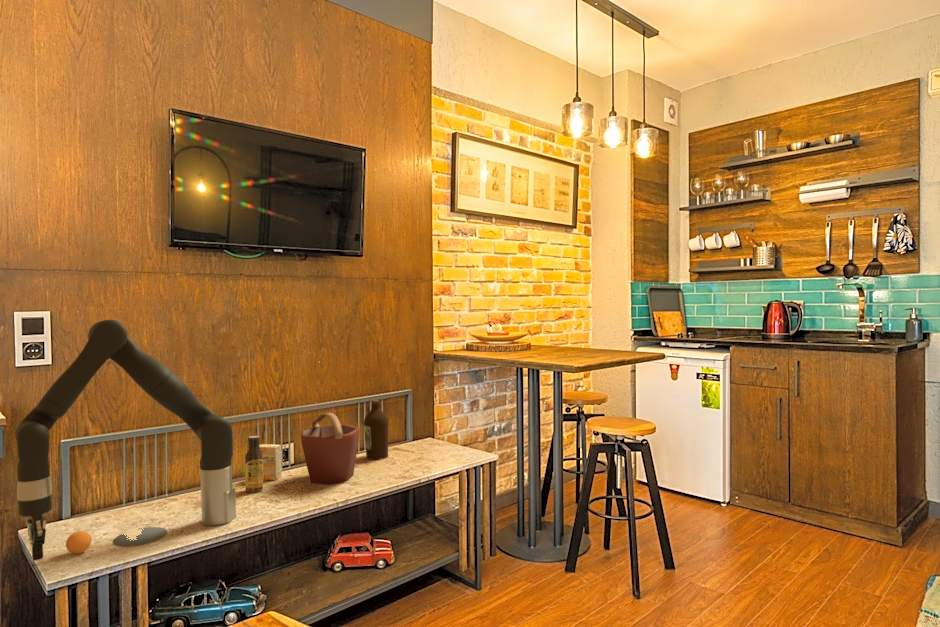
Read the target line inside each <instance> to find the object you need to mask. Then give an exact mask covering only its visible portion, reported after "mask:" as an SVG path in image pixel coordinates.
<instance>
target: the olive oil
mask: <svg viewBox="0 0 940 627" xmlns="http://www.w3.org/2000/svg"><path fill="white" fill-rule="evenodd" d="M363 430H364V442H365V452H366V453H365V455H366V459H368V460H373V461H374V460H382V459H383V460H384V459H386V458H388V457H389V418H388V415H387V414H385V413H384V411H383V410H381V408H380V400H379V399H372V400H371V409H370V411H369V412H368V413H367V414H366V415H365V418H364V420H363Z"/></svg>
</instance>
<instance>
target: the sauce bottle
mask: <svg viewBox="0 0 940 627" xmlns="http://www.w3.org/2000/svg"><path fill="white" fill-rule="evenodd" d="M260 440H261V437H260V435H250V436H248V438H247V441H248V449H247V452H246V454H245V463H244V487H245V492H246V493H258V492H262V490H263V486H264V480H263V455H262V452H261V450H260V446H259V445H260Z"/></svg>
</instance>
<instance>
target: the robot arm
mask: <svg viewBox="0 0 940 627" xmlns="http://www.w3.org/2000/svg"><path fill="white" fill-rule="evenodd" d="M87 338H88V339H87V341H86V343H85V346H84V347H83V349H82V350H81V352H80V354H79V355H78V356H77V357H76V359H75V360H74V361H73V362H72V363H71V364H70V366H68V367H67V368H66V369H65V371H64V372H63V373H62V374H61V375H60V376H59V377H58V378H57V379H56V381H54V382H53V384H51V386H50V387H49V389H48V390H47V391H46V393H45V394H44V395H43V396H42V397H41V399H40V400H39V402H38V404H37V405H36V406H35V407H34V408H33V409H32V410H31V411H30V412H29V413H28V414H27V415H26V416H25V417H24V418H23V419H22V421H21V422H20V423H19V424H18V425H17V427H16V429H15V430H14V437H15V440H16V443H17V455H18V461H17V466H16V468H17V469H16V471H17V472H16V473H17V488H16V493H17V494H16V496H17V497H16V498H17V515H18V516H19V517H22V518H24V517H25V518H27V517H28V519H26V520H25V525H26V527H27V536H28V538H29V539H28V540H29V543H30V545H31V556H32V560H33V561H38V560H39V561H40V560H43V558H44V549H43V548H44V546H43V545H44V544H46V541H45V539H46V532H47V529H46V525H47V519H46V518H45V516H43V515H44V514H46V513H49V512H50V511H52V509H53V491H52V490H53V489H52V488H53V487H52V481H51V472H50V460H49V454H50V430H51V429H52V428H53V426H54V425H55V424H56V422H57V421H58V420H59V419H60V418H63V416H65V415H66V414H67V412H68V411H69V410H70V408H71V407H72V406H73V404H74V403H75V402H76V401H77V399H78V398H79V396H80V395H81V393H83V391H84V390H85V388H86V387H87V385H88V384H89V382H90V381H91V380H92V379H93V377H94V376H95V374H96V373H97V372H98V371H99V370H100V369H101V367H103V365H104V364H105V363H106V362H107V361H108V360H109V359H110V360H112V361H113V362H114V363H116V364H117V365H118V366H119V367H120V368H122V369H123V371H125V373H126V374H127V375H128V376H129V377H130V378H131V379H132V380H133V381H134V382H135V383H136V384H137V385H138V387H140V389H142V390H143V392H145V393H146V394H147V395H148V396H150V398H152V400H154V401H156V402H157V404H159V405H161V406H162V407H164V408H165V409H166V410H168V411H169V412H171V413H172V414H174V415H175V416H177V417H179V419H181V420H182V421H183V422H184V423H185V424H186V425H187V426H188V427H189V428H190V429H191V430H192V431H193V432H194V434H195V435H196V436H197V437H198V438H199V440H200V444H201V447H200V448H201V457H200V459H199V474H200V476H199V478H200V479H199V480H200V497H201V498H200V500H201V503H200V504H201V522H202V525H204V526H218V525H223V524H230V523H231V521H233V520H234V519H235V518H237V504H236V501H237V500H236V488H235V487H234V486H233V473H232V472H233V471H232V470H233V469H232V467H233V466H232V459H233V455H234V442H233V440H234V437H233V436H234V434H233V428H232V424H231V422H230V421H229V420H228V419H226V418H224V417H222V416H221V415H218V414H217V413H216V412H214V411H213V410H211V409H210V408H209V407H207V406H206V405H204V404H203V403H202V402H201V401H200V400H199V399H198V398H197V397H196V395H195V394H194V393H193V391H192V390H191V389H190V387H189V386H188V385H186V383H185V382H184V381H183V380H182V379H181V378H180V377H179V376H178V375H177V374H176V373H174V371H172V370H171V369H170V368H168V366H166V365H165V364H164V363H162V362H161V361H159V360H158V359H157V358H155V357H153V356H152V355H149V354H148V353H146V352H145V351H144V350H143V349H141V347H139V345H137V344H136V343H135V342H134V341H133V340H132V339H131V338H130V337H129V336H128V330H127V328H126V326H125V325H124V324H123V323H121V322H120V321H118V320H114V319H104V320H100V321H98V322H95V323H94V324H93V325H92V326H91V327H90V328H89V330H88V334H87Z"/></svg>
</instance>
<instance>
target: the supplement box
mask: <svg viewBox="0 0 940 627" xmlns="http://www.w3.org/2000/svg"><path fill="white" fill-rule="evenodd" d="M259 446H260V450H261V452H262V455H263V481H277V480H280V479H281V478H282V477H283V476H282V444H268V443H267V444H264V443H263V444H262V443H261V444H259Z"/></svg>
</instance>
